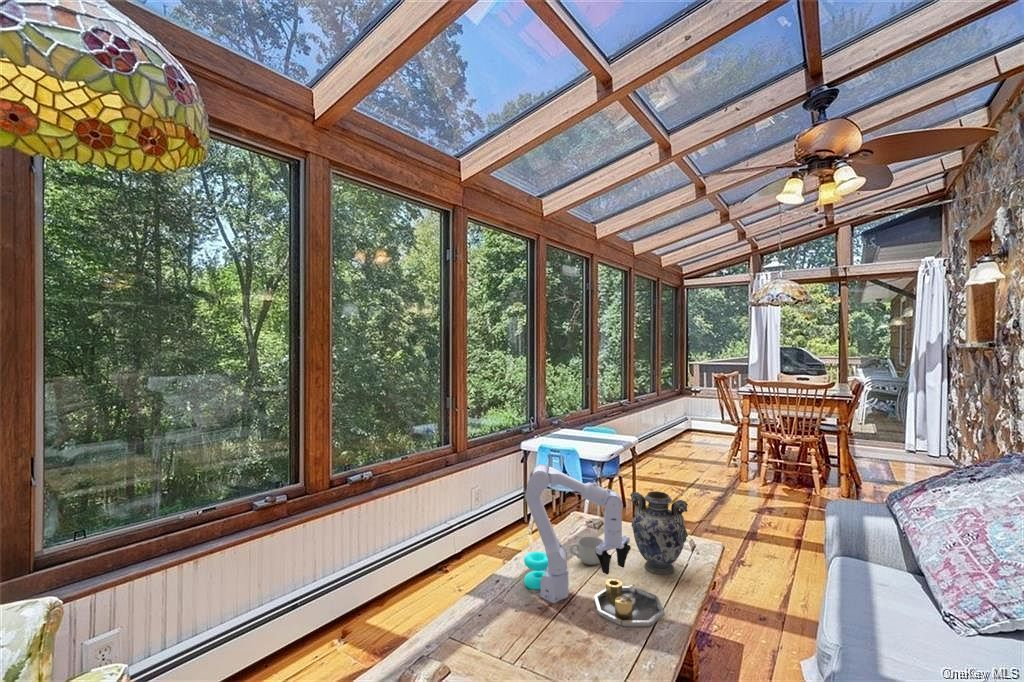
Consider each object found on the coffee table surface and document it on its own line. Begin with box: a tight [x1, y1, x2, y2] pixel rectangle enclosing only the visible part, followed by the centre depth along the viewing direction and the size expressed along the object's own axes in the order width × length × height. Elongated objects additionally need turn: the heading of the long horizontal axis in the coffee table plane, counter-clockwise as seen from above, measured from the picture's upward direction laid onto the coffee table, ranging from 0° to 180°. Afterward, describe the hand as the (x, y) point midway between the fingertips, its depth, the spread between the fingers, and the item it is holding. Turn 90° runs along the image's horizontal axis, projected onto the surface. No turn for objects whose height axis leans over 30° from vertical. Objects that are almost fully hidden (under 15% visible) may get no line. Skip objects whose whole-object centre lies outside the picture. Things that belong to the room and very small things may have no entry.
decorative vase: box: [629, 491, 689, 576], centre depth 178 cm, size 21×19×28 cm
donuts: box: [523, 551, 548, 590], centre depth 167 cm, size 10×10×10 cm
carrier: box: [593, 583, 665, 628], centre depth 151 cm, size 21×21×7 cm
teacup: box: [569, 535, 604, 567], centre depth 184 cm, size 14×11×8 cm
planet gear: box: [605, 578, 623, 602], centre depth 156 cm, size 5×5×5 cm
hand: (613, 569), depth 157 cm, fingers open, 7 cm apart
